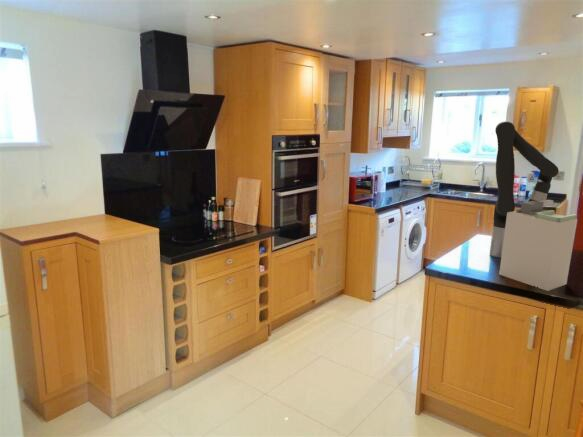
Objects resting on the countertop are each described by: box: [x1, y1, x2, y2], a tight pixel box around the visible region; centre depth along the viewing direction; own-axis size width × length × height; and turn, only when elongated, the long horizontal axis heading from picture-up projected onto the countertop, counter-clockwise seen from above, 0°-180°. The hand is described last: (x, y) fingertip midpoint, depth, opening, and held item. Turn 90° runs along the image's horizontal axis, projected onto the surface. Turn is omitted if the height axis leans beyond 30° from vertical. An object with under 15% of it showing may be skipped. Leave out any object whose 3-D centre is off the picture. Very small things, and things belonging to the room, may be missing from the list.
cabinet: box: [498, 208, 578, 292], centre depth 202 cm, size 16×24×34 cm, turn 31°
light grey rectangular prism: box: [520, 199, 554, 215], centre depth 207 cm, size 21×5×5 cm, turn 121°
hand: (525, 228), depth 231 cm, fingers open, 8 cm apart
